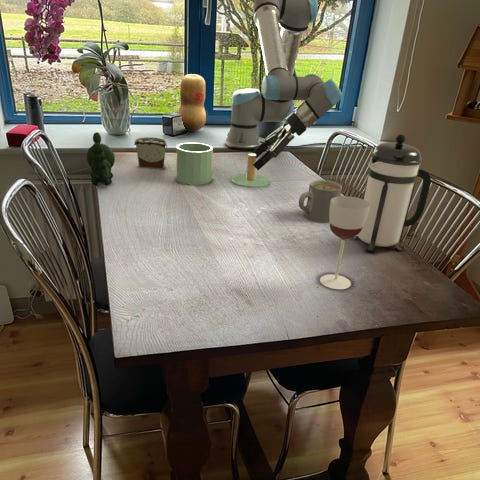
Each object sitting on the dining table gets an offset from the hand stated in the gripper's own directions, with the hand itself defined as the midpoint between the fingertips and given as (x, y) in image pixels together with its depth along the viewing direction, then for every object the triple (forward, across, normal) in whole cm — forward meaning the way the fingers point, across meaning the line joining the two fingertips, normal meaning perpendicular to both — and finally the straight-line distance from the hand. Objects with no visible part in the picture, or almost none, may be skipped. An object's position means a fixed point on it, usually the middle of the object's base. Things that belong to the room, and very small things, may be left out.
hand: (253, 162), depth 177 cm
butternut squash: (+22, +76, +12) cm, 80 cm away
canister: (+20, +1, +10) cm, 22 cm away
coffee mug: (-7, -30, -18) cm, 36 cm away
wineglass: (-5, -73, -16) cm, 75 cm away
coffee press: (-18, -49, -29) cm, 60 cm away
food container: (+32, +15, +21) cm, 41 cm away
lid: (+6, 0, -4) cm, 7 cm away
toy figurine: (+43, -5, +32) cm, 54 cm away
